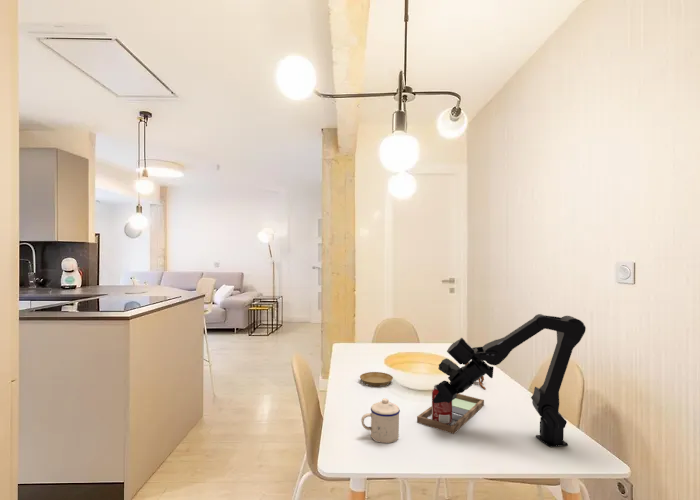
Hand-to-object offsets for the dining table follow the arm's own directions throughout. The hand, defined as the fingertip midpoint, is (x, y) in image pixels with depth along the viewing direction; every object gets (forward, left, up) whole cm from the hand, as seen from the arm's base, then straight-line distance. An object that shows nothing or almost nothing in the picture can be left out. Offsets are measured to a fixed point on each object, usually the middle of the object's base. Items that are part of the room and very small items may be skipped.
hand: (438, 398), depth 129 cm
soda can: (-1, -1, -8) cm, 8 cm away
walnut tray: (+5, -8, -8) cm, 12 cm away
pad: (+12, -16, -8) cm, 21 cm away
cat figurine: (+34, -33, -8) cm, 48 cm away
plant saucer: (+41, +11, -8) cm, 43 cm away
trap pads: (+5, -8, -8) cm, 12 cm away
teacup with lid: (-8, +23, -8) cm, 25 cm away
